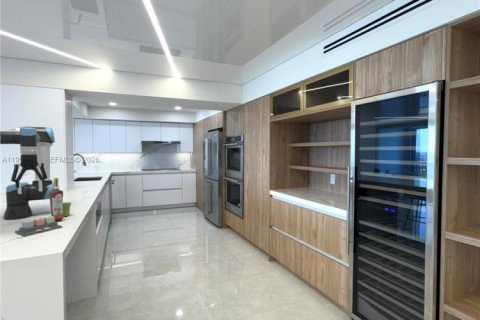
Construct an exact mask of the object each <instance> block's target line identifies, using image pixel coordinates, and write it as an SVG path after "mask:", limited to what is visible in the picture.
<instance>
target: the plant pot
mask: <svg viewBox="0 0 480 320" xmlns="http://www.w3.org/2000/svg"><path fill="white" fill-rule="evenodd" d="M71 205H72V202H63V218H66V217H69V216H70V211H71V210H70V209H71Z"/></svg>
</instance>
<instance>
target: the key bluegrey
mask: <svg viewBox="0 0 480 320" xmlns="http://www.w3.org/2000/svg"><path fill="white" fill-rule="evenodd" d="M21 227H22V228H24V229H26V228H31V227H34V221H33V220H25V221H21Z"/></svg>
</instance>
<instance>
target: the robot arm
mask: <svg viewBox="0 0 480 320" xmlns="http://www.w3.org/2000/svg"><path fill="white" fill-rule="evenodd" d="M55 143H56V140H55V133H54V130H53V128H52V127H49V126H48V127H47V126H21V127H19V126H18V127H14V128H12V129H10V130H4V131H0V145H20V146H19V150H20V151H19V153H20V163H14V164H13V171H12V175H11V178H10V181H11V183H12V184H9V185H7V186H6V187H5V198H6V199H5V200H6V208H5V211H4V213H3V220H6V221H7V220H8V221H9V220H10V221H11V220H19V219H20V220H21V219H26V218H29V217H32V216H33V210H32V208H31V206H30V202H34V201H42V200H43V201H46V200H50V195H49V192H51V191H53V188H54V181H53V179H51V147H52V146H53V144H55ZM20 167H21V169H20V172H19V168H20ZM27 171H33V172H34V179H33V180H32V182H31V183H29V182H27V181H25V182H20V181H21V180H22V178H23V177H24V174H25V173H26V172H27Z"/></svg>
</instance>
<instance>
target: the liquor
mask: <svg viewBox="0 0 480 320" xmlns="http://www.w3.org/2000/svg"><path fill="white" fill-rule="evenodd" d="M52 181H53V183H54V188H53V191H51V192H49V195H50V199H49V204H50V214H51V215H50V216H53V217H55V222H61V221H62V220H63V219H64V217H63V203H64V191H63V190H61V189H60V186H59V177H54V178H52Z"/></svg>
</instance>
